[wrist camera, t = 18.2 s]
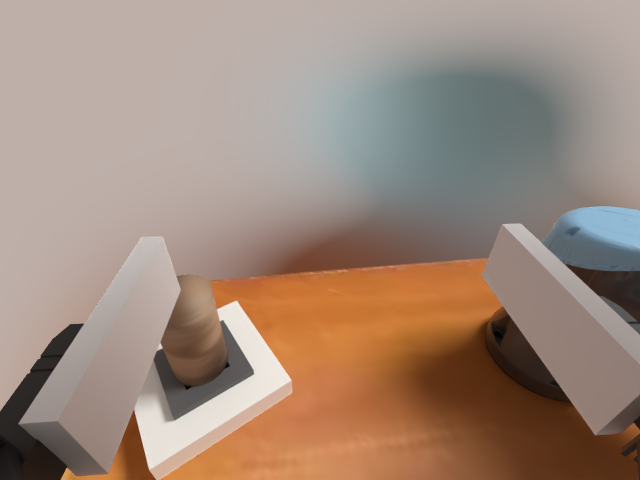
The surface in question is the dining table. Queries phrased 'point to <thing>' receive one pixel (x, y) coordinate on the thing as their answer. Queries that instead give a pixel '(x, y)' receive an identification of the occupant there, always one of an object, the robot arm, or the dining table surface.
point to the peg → (195, 334)
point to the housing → (208, 397)
